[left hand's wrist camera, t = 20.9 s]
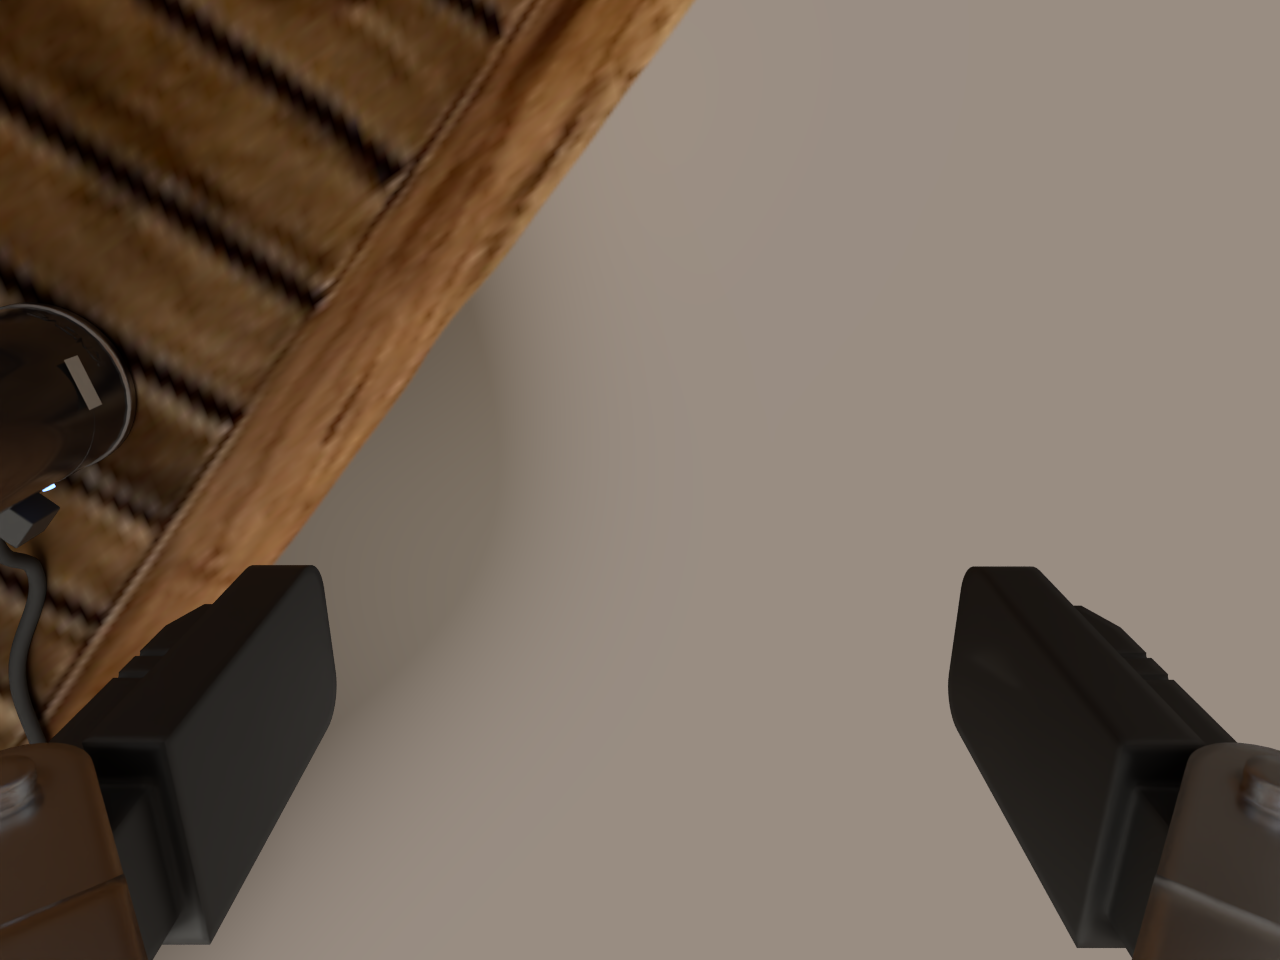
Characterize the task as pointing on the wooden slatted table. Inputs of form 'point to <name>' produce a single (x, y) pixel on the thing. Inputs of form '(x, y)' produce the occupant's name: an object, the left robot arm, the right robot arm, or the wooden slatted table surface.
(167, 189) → the wooden slatted table surface
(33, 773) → the left robot arm
